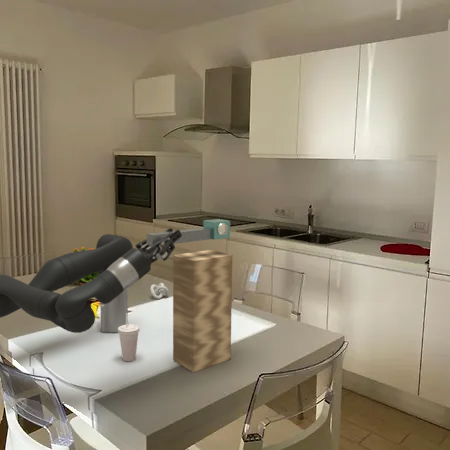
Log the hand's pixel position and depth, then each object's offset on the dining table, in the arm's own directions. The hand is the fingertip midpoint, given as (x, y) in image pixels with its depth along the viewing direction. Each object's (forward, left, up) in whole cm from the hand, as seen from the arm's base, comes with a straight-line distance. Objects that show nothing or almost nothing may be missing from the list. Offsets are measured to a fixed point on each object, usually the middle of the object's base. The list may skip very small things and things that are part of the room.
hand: (175, 231), depth 131 cm
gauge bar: (+4, +2, -3) cm, 5 cm away
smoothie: (-12, +10, -40) cm, 43 cm away
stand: (+9, +4, -40) cm, 41 cm away
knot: (+6, +71, -40) cm, 82 cm away
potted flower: (-24, +100, -40) cm, 110 cm away
